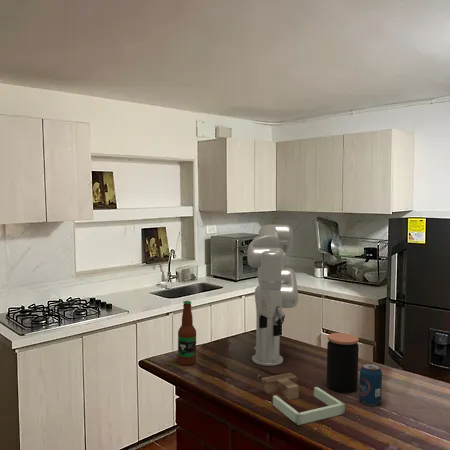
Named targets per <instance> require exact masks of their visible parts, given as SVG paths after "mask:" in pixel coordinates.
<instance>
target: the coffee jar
mask: <svg viewBox="0 0 450 450" xmlns="http://www.w3.org/2000/svg"><path fill="white" fill-rule="evenodd" d="M359 339H360V338H359V337H358V336H357V335H355V334H351V333H347V332H333V333H330V334H328V335H327V340H328V342H327V349H326V351H327V353H326V384H327V387H328V388H329V389H330V390H332V391H335V392H337V393H345V394H348V393H352V392H354V391H355V390H356V389H357V388H358V385H359V381H358V378H359Z"/></svg>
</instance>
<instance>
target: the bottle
mask: <svg viewBox="0 0 450 450" xmlns="http://www.w3.org/2000/svg"><path fill="white" fill-rule="evenodd" d="M182 303H183V305H182V307H183V309H182V314H181V324H180V327H179V328H178V330H177V363H178V364H179V365H180V366H187V367H188V366H192V365H194V364H196V361H197V330H196V328H195V326H194V324H193V322H194V321H193V320H194V319H193V313H192V301H190V300H185V301H183V302H182Z"/></svg>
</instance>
